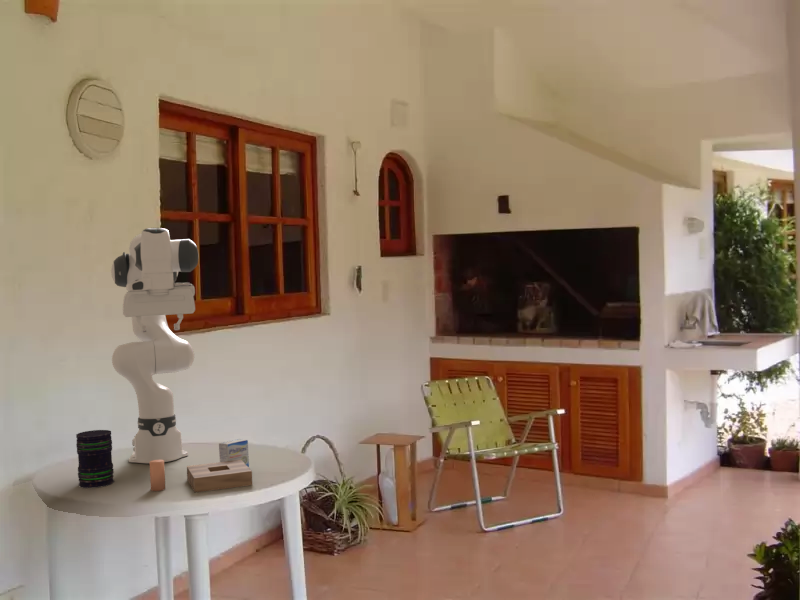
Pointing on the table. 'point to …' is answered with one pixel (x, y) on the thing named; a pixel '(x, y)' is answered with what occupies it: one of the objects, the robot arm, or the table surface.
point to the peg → (157, 475)
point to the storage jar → (94, 458)
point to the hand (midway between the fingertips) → (160, 331)
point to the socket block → (219, 475)
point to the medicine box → (234, 451)
